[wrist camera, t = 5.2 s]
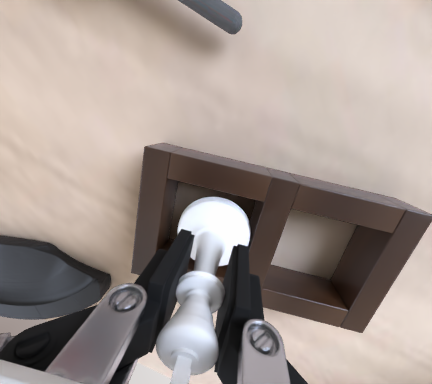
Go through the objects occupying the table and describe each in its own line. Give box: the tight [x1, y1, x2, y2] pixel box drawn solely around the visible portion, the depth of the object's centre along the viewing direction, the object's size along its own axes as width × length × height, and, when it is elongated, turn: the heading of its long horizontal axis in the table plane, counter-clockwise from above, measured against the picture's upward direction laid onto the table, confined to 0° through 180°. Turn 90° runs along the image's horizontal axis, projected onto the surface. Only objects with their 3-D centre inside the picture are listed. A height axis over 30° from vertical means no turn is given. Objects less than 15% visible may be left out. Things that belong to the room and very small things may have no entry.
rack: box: [131, 143, 432, 333], centre depth 14 cm, size 17×9×3 cm, turn 77°
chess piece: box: [156, 197, 251, 384], centre depth 9 cm, size 5×5×10 cm
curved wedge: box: [0, 236, 111, 319], centre depth 19 cm, size 8×14×2 cm, turn 82°
